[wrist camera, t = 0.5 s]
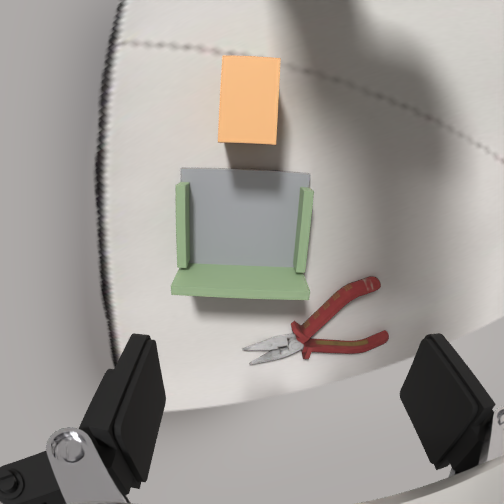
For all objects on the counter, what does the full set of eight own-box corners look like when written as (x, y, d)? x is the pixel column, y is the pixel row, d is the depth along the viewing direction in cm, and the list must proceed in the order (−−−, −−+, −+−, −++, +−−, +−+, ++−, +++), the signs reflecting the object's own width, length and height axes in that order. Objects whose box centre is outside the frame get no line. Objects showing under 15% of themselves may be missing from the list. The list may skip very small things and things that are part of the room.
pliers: (230, 320, 40) (229, 332, 38) (374, 270, 38) (382, 278, 36) (259, 377, 44) (260, 389, 42) (385, 334, 42) (391, 344, 40)
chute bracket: (182, 167, 33) (167, 175, 26) (308, 173, 33) (323, 181, 27) (183, 267, 37) (171, 294, 31) (298, 272, 38) (308, 300, 31)
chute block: (226, 71, 29) (222, 55, 23) (274, 73, 29) (281, 57, 23) (223, 141, 32) (217, 142, 26) (270, 143, 32) (276, 145, 26)
